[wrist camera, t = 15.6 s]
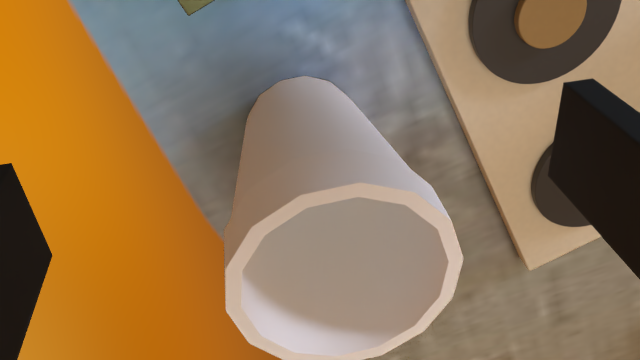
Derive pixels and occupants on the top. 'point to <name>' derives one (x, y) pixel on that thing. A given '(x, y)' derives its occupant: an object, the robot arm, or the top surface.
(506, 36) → the hob
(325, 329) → the foam cup
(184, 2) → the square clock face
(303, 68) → the top surface
